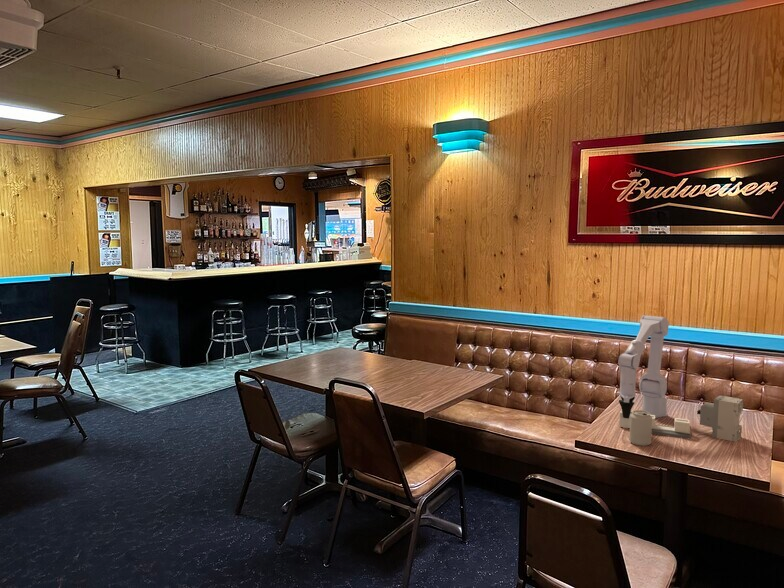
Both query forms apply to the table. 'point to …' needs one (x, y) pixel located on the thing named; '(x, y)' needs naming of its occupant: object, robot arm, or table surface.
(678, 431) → the rail plate
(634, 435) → the can
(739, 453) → the table surface
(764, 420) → the table surface
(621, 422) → the block
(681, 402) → the table surface
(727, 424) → the circuit breaker
